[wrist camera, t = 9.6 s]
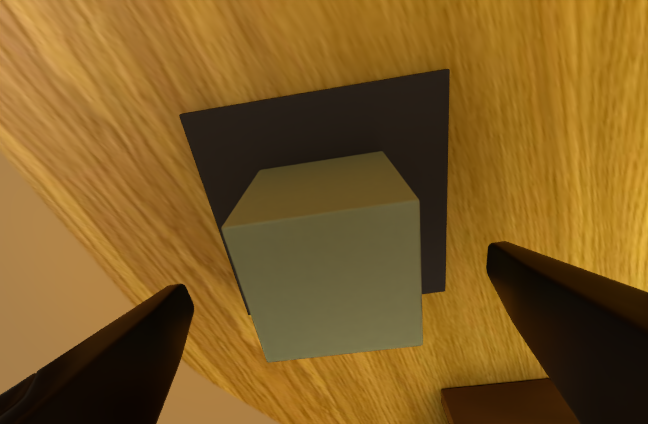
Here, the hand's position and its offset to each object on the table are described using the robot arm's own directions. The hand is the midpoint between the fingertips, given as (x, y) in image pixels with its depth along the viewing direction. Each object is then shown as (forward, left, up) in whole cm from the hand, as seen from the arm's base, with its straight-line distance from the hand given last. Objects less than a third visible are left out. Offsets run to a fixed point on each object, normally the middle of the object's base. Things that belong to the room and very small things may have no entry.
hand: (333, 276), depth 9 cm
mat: (0, 0, -5) cm, 5 cm away
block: (0, 0, -4) cm, 5 cm away
